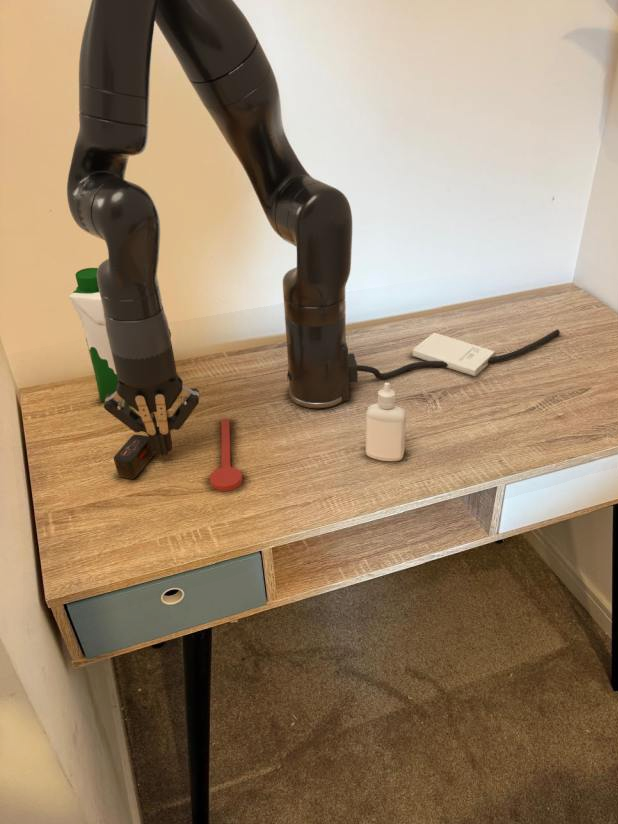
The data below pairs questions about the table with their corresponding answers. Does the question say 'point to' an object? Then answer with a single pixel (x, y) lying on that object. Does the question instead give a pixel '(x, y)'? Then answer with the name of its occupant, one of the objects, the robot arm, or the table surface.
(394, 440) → the eye dropper bottle
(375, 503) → the table surface
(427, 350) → the hard drive
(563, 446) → the table surface
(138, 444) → the black gauge box
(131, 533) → the table surface
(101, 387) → the milk carton
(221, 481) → the spoon
